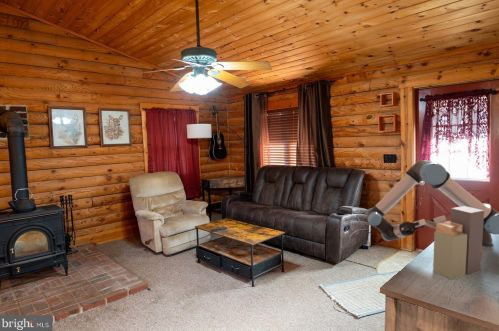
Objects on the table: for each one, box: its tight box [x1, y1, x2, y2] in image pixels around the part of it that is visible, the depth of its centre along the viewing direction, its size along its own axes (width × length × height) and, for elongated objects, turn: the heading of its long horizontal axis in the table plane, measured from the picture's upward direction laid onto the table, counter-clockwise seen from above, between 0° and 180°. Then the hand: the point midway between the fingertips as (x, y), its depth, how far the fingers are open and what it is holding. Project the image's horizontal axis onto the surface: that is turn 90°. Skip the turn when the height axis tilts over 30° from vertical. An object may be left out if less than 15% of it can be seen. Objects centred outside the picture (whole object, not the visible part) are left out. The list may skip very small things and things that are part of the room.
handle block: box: [425, 219, 463, 236], centre depth 155 cm, size 8×16×4 cm, turn 20°
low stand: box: [432, 230, 467, 280], centre depth 151 cm, size 9×10×20 cm
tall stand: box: [450, 206, 484, 276], centre depth 154 cm, size 9×10×30 cm
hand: (435, 219), depth 157 cm, fingers open, 13 cm apart
